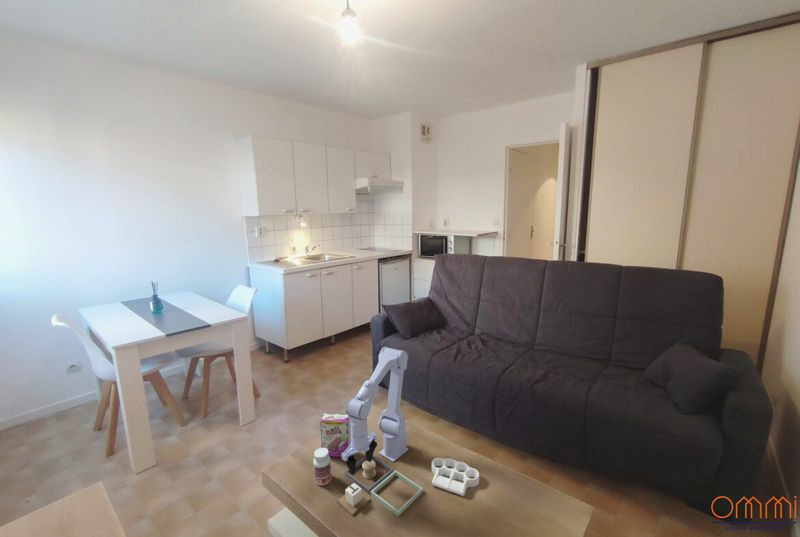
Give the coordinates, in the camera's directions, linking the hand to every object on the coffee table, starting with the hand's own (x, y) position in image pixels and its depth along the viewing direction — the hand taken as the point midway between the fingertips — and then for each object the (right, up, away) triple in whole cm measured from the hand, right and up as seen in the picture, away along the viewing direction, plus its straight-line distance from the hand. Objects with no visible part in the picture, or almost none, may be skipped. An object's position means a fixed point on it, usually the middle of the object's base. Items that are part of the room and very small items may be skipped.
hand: (360, 466), depth 122 cm
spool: (+2, -8, +9) cm, 12 cm away
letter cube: (-2, -9, -3) cm, 10 cm away
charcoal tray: (+2, -8, +9) cm, 12 cm away
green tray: (+13, -9, 0) cm, 16 cm away
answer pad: (-2, -10, -3) cm, 11 cm away
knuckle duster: (+34, -8, +6) cm, 35 cm away
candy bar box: (-12, -6, +20) cm, 24 cm away
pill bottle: (-15, -9, +7) cm, 18 cm away
